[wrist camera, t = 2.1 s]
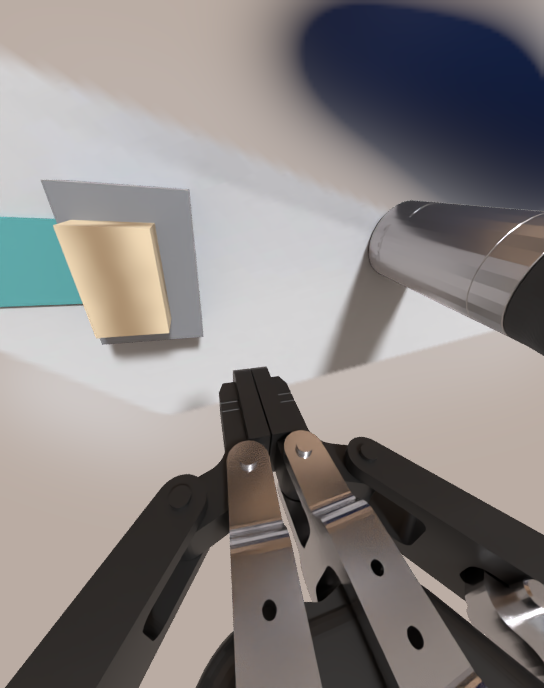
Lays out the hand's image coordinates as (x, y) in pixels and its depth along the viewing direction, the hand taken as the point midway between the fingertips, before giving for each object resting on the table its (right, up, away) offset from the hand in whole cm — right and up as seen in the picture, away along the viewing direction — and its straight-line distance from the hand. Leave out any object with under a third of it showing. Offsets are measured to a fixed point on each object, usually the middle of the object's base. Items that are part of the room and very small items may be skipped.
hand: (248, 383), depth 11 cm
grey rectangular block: (-12, +10, +14) cm, 21 cm away
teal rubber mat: (-23, +9, +11) cm, 27 cm away
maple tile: (-12, +7, +10) cm, 17 cm away
